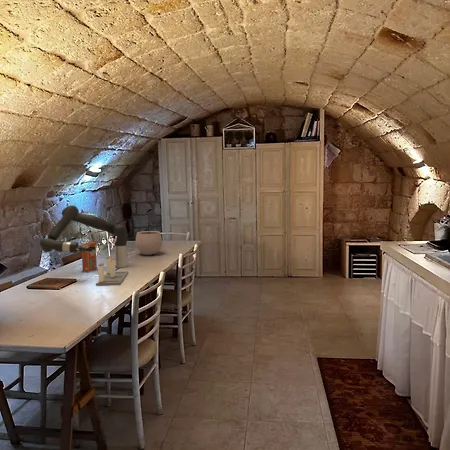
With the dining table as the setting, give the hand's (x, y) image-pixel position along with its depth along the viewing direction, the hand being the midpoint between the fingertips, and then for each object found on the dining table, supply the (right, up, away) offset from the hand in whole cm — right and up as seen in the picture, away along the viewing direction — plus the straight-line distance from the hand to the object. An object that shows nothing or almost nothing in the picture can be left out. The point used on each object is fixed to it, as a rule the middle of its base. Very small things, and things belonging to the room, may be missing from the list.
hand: (94, 249), depth 299 cm
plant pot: (+22, -11, +96) cm, 99 cm away
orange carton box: (-13, -18, +33) cm, 40 cm away
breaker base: (+12, -21, +3) cm, 25 cm away
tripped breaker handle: (+12, -20, +3) cm, 23 cm away
